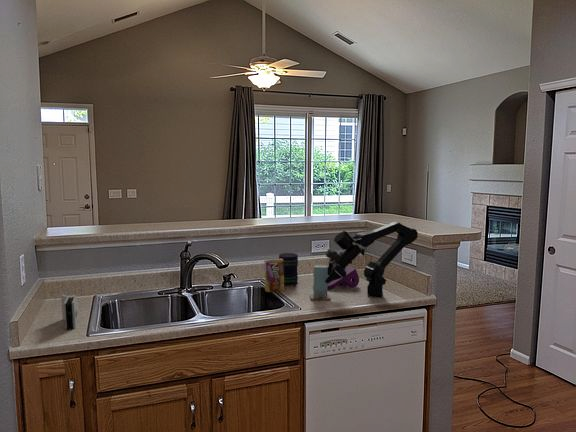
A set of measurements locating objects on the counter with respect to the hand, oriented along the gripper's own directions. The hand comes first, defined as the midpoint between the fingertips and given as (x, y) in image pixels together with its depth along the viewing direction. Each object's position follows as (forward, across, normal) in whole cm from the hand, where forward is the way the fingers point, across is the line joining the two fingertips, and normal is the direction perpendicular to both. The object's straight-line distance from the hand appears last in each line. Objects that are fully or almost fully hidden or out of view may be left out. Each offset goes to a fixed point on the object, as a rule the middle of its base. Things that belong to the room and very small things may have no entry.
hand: (324, 279), depth 201 cm
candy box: (+23, -13, -10) cm, 28 cm away
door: (+7, 0, +4) cm, 8 cm away
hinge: (+78, +30, -66) cm, 106 cm away
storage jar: (+18, -25, -5) cm, 31 cm away
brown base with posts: (+8, 0, +5) cm, 9 cm away
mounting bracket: (0, -19, +13) cm, 23 cm away
